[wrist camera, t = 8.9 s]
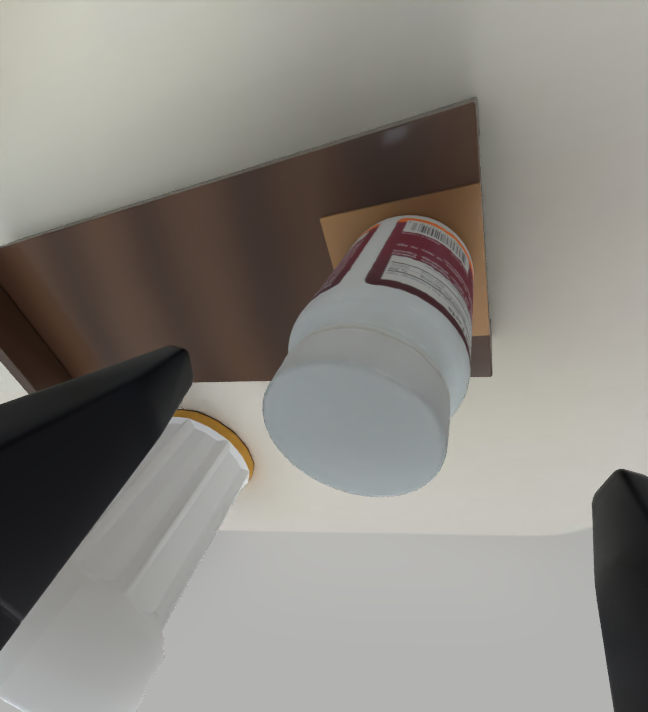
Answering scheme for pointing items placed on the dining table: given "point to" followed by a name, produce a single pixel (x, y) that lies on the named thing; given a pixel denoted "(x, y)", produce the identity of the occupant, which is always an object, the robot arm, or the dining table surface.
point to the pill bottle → (378, 362)
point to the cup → (127, 577)
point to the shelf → (236, 256)
